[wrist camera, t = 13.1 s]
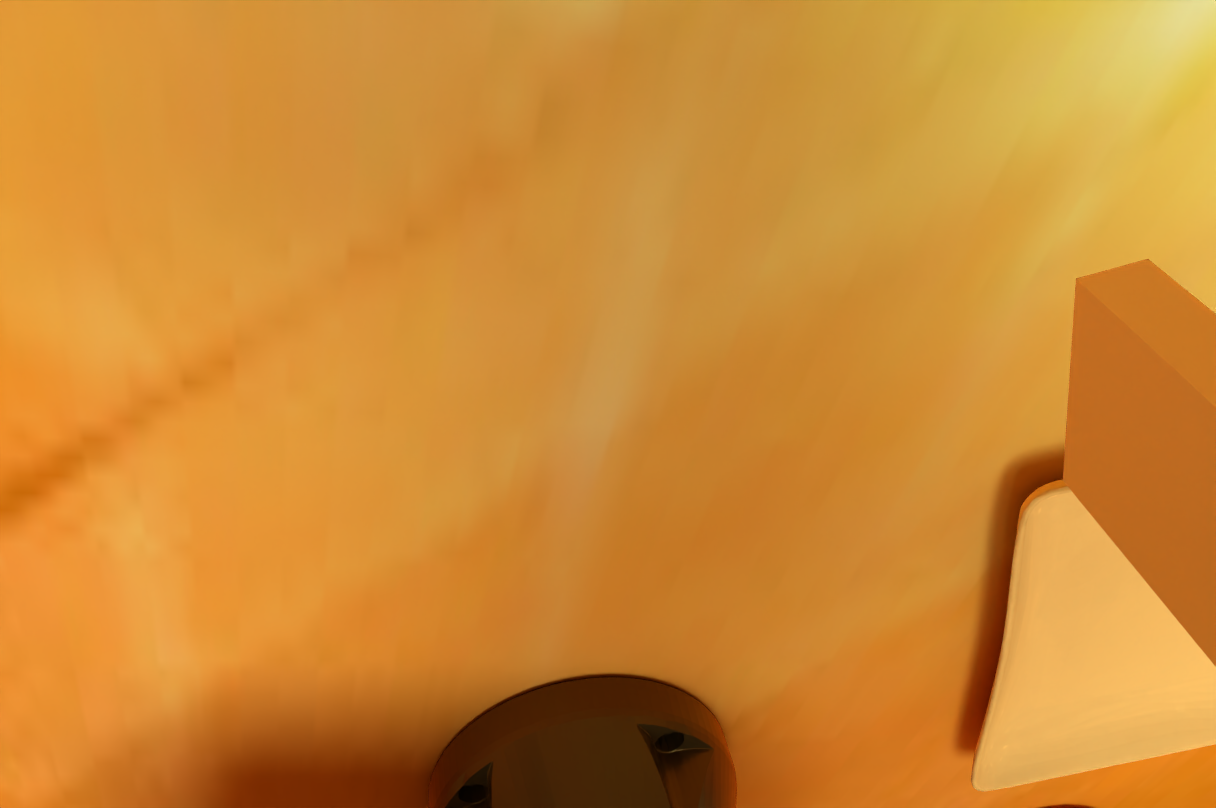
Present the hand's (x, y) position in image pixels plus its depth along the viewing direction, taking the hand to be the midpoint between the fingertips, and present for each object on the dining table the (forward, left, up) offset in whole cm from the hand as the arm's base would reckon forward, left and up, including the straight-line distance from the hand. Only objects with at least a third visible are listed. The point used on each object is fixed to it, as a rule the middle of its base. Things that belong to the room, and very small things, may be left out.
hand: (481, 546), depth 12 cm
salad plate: (-37, -29, -27) cm, 55 cm away
